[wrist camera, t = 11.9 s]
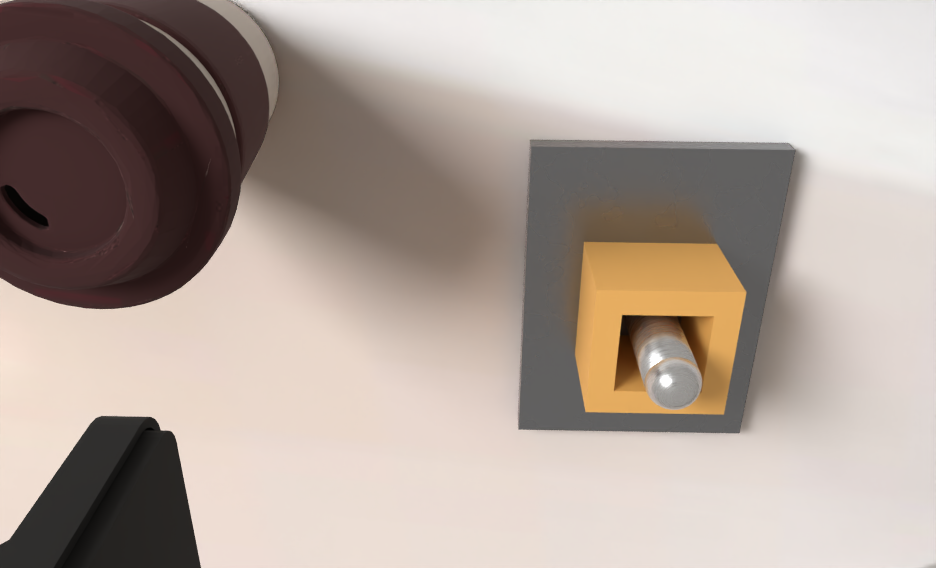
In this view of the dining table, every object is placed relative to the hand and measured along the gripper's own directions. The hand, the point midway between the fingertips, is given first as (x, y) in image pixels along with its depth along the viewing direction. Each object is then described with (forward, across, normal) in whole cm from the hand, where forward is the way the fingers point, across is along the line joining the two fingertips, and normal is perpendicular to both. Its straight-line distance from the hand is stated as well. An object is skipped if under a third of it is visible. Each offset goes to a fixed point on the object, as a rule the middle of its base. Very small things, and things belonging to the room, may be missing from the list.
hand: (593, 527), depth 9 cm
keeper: (+30, -7, +13) cm, 34 cm away
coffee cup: (+31, +14, +2) cm, 34 cm away
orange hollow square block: (+29, -7, +13) cm, 33 cm away
